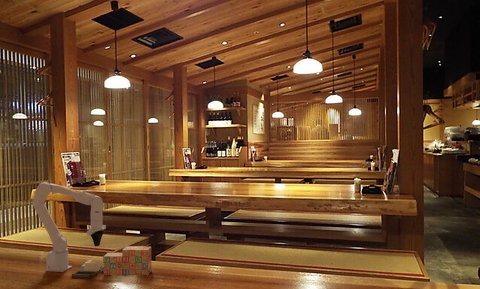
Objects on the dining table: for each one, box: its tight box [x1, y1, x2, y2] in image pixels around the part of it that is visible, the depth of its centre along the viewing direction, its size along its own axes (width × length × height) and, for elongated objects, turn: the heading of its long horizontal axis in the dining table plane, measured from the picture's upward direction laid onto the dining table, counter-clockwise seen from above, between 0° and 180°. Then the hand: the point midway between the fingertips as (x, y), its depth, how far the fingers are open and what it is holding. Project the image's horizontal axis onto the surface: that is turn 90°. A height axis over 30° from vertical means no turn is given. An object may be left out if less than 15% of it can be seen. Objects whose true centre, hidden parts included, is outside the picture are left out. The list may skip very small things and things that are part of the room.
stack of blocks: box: [102, 245, 152, 277], centre depth 181 cm, size 21×6×12 cm, turn 88°
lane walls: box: [80, 263, 104, 273], centre depth 189 cm, size 12×10×2 cm
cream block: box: [84, 259, 101, 273], centre depth 184 cm, size 5×5×5 cm
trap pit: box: [71, 270, 98, 279], centre depth 178 cm, size 10×5×2 cm, turn 80°
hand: (97, 245), depth 196 cm, fingers closed
